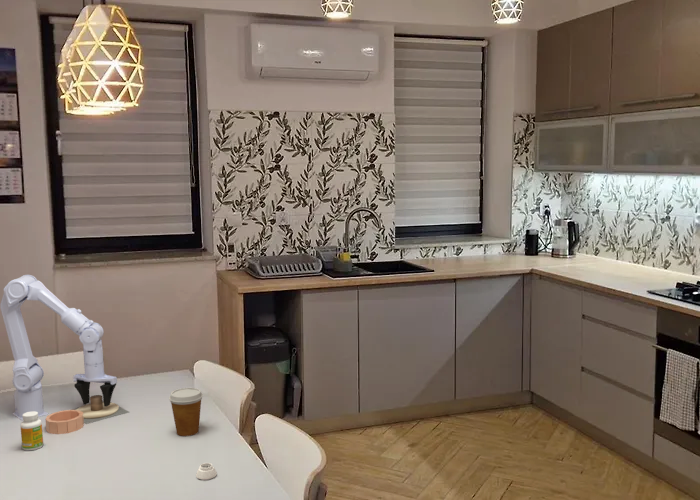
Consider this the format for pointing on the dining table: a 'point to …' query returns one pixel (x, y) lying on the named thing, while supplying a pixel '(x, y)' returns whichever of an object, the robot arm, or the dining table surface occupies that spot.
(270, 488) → the dining table surface
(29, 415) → the supplement bottle
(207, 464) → the white tapered round cap
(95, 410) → the lid
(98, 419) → the mat
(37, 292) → the robot arm
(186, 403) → the disposable coffee cup
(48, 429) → the bowl
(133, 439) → the dining table surface
